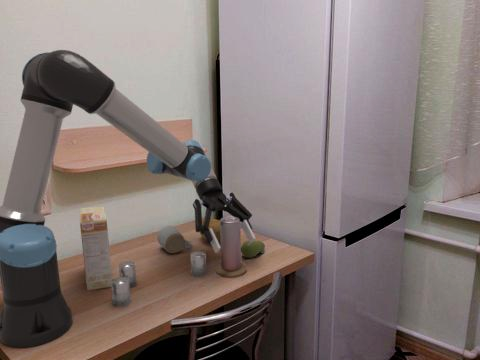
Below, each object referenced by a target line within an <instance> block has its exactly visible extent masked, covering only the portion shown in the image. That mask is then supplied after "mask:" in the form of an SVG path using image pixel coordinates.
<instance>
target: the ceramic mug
mask: <svg viewBox="0 0 480 360" xmlns="http://www.w3.org/2000/svg"><path fill="white" fill-rule="evenodd" d="M156 238H157V242H158V244H159V245H160V246H161V247H162V248H163V249H164V250H165V251H166V252H168V253H170V254H178V253H180V252H181V251H182V250H183V249H184V248H185V249H188V250H189V249H191V248H192V245H193V244H192V242H191V241H189V240H187V239H185V237H184V235H183V234H182V233H181V232H180V231H179V230H178V228H176V227H175V226H173V225H166V226H163V227H162V228H161V229H160V230H159V231H158V233H157V237H156Z"/></svg>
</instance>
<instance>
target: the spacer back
mask: <svg viewBox="0 0 480 360" xmlns="http://www.w3.org/2000/svg"><path fill="white" fill-rule="evenodd" d="M118 273H119V274H118V275H119V276H118V277H127V278H129V286H130V289H131V288H134V287H136V286H137V275H136V263H135V261H131V260H127V261H123V262H120V263H119V264H118Z"/></svg>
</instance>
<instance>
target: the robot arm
mask: <svg viewBox="0 0 480 360" xmlns="http://www.w3.org/2000/svg"><path fill="white" fill-rule="evenodd" d="M21 82H22V85H23V89H22V92H21V97H20V100H19V101H20V103H21V104H22V105H23V107H24V109H25V111H24V114H23V119H22V124H21V127H20V131H19V134H18V135H19V136H18V138H17V144H16V147H15V151H14V155H13V156H14V157H13V159H12V164H11V169H10V174H9V177H8V181H7V184H6V188H5V194H4V197H3V201H2V204H1V205H0V285H1V291H2V298H3V308H2V311H1V317H0V342H1V343H2V344H3V345H6V346H8V347H11V348H28V347H35V346H38V345H43V344H46V343H48V342H51V341H53V340H56V339H57V338H59V337H61V336H63V335H64V334H65V333H67V332H68V331H69V330H70V328H71V326H72V324H73V313H72V309H71V308H70V306H69V305H68V303H67V301H66V299H65V297H64V295H63V293H62V289H61V287H62V286H61V281H60V280H61V279H60V271H59V265H58V264H59V261H58V254H57V253H58V252H57V241H56V239H55V235H54V232H53V230H52V229H50V228H49V227H48V226H45V224H46V223H45V222H46V217H45V216H44V215H43V213H42V207H43V203H44V198H45V194H46V191H47V190H46V189H47V186H48V182H49V177H50V173H51V171H52V170H51V169H52V167H53V161H54V157H55V153H56V149H57V145H58V142H59V141H58V140H59V137H60V132H61V130H62V129H61V128H62V124H63V121H64V119H65V118H67V117H68V116H70V115H71V114H72V111H73V107H74V106H75V107H78V108H80V109H81V110H83V111H85V113H87V114H88V115H94V114H96V115H97V116H99V117H100V118H101V119H103V120H105V122H107V123H108V124H110V125H111V126H113V127H114V128H115V129H116V130H118V131H120V132H121V133H122V134H124V135H125V136H126V137H128V138H129V139H130V140H132V141H133V142H135V143H136V144H137V145H138V146H140V147H142V148H143V149H144V150H146V151H147V152H148V153H147V156H146V167H147V169H148V171H149V172H150V173H151V174H153V175H162V174H164V175H165V174H167V175H171V176H175V177H179V178H182V179H187V180H189V181H191V183H192V185H193V187H194V189H195V191H196V195H197V196H198V198H199V199H198V198H195V199H194V201H193V203H192V206H193V209H194V223H195V224H194V225H195V226H194V227H195V232H197V233H200V232H201V233H202V234H204V235H205V237H206V239H207V240H206V239H205V240H206V241H207V242H208V243H210V245H211V247H212V249H213V251H214V253H219V252H220V251H221V249H220V248H221V247H220V242H218V240H217V238H216V236H215V234H214V232H213V230H212V228H209V224H210V219H211V218H212V214H213V213H215V212H217V211H219V212H220V211H223V212H226V213H228V215H231V217H237V218H239V219H240V220H239V221H240V227H241V229H242V231H243V232H244V234H245V236H246V239H247V241H249V242H250V243H252V242H253V241H256V236H255V234H254V232H253V226H252V224H251V222H250V221H249V220H250V219H251V218H252V217H253V214H252V213H251V212H250V211H249V210H248V209H247V207H245V206H244V205H243V203H242V202H240V201H239V199H237V198H236V196H235V194H234V192H230V193H229V194H225V193H224V192H223V188H222V185H221V183H220V182H219V180H218V179H217V176H216V173H215V171H214V169H213V167H212V163H211V161H210V159H209V157H208V156H207V155H206V153H205V151H204V149H203V148H202V146H201V144H200V143H199V141H197V140H195V139H189V140H187V141H186V140H185V141H184V142H183V141H181V140H180V139H178V138H177V137H176V136H175V135H174V134H172V133H171V132H170V131H169V130H168V129H167V128H165V127H164V126H163V125H161V124H160V123H159V122H158V121H157V120H155V119H154V118H153V117H151V116H150V115H149V113H147V112H146V111H144V109H141V108H140V107H139V106H138V105H137V104H135V103H134V102H133V101H132V100H131V99H129V98H128V97H126V96H125V95H124V94H123V93H122V92H120V91H119V90H118V89H117V88H116V87H117V86H116V83H115V82H116V81H114V80H113V79H112V78H110V77H109V76H107V74H105V73H104V72H103V71H102V70H101V69H99V67H97V66H95V65H94V64H93V63H92V62H91V61H89V60H88V59H86V58H85V57H84V56H82V55H80V54H79V53H77V52H74V51H71V50H69V49H68V50H67V49H58V50H53V51H51V52H43V53H41V52H40V53H38V54H36V55H35V56H33V57H31V58H30V59H29V60H28V61H27V62H26V64H25V65H24V66H23V69H22V73H21ZM202 206H203V207H204V208H205V209H206V210H205V212H204V214H205V215H204V218H205V219H204V218H203V215H202ZM202 219H204V223H203V226H202ZM208 228H209V229H208Z"/></svg>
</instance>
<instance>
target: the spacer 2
mask: <svg viewBox="0 0 480 360" xmlns="http://www.w3.org/2000/svg"><path fill="white" fill-rule="evenodd" d="M190 273H191V275H192V276H193V277H199V278H200V277H204V276H205V275H206V274H207V255H206V252H204V251H201V250H200V251H193V252H191V253H190Z"/></svg>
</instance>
